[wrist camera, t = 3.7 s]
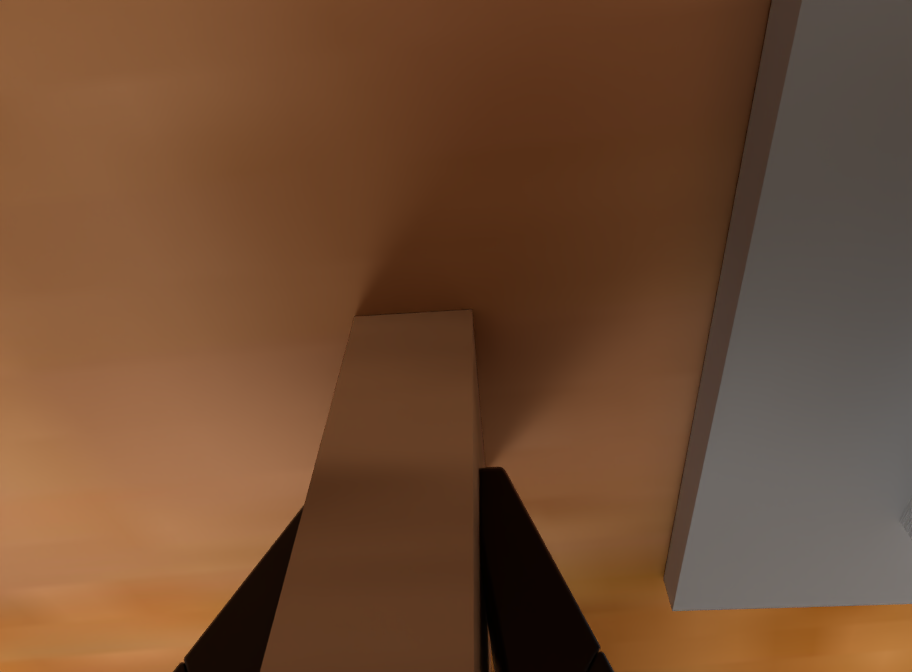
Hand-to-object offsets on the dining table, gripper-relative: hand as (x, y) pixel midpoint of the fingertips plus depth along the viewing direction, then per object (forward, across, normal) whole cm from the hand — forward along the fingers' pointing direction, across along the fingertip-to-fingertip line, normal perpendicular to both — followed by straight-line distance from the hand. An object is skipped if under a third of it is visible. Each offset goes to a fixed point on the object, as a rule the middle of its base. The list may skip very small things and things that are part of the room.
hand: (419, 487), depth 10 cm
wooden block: (+2, 0, 0) cm, 2 cm away
